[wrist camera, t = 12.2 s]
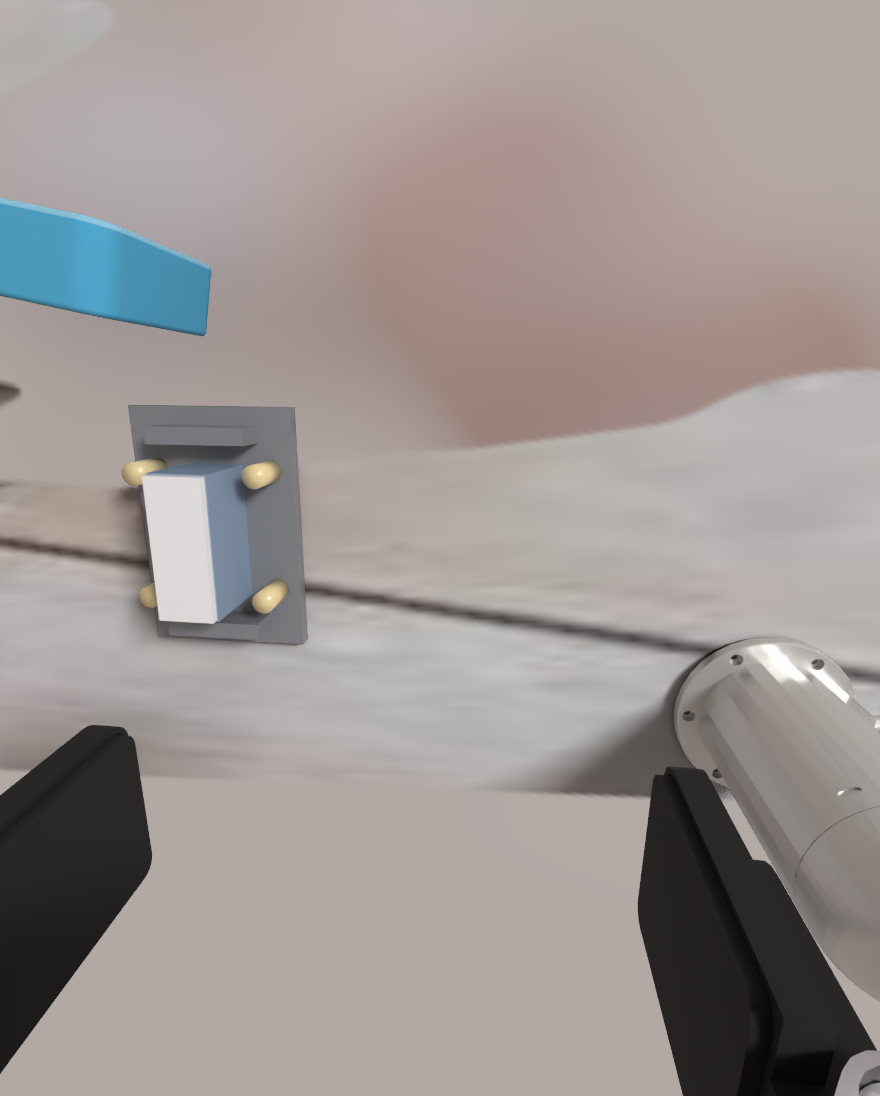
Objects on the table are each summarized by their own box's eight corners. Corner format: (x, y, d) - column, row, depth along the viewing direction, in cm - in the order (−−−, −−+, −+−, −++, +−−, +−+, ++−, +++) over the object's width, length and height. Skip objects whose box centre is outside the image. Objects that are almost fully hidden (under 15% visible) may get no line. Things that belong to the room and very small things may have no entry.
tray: (294, 407, 41) (272, 408, 37) (307, 638, 45) (289, 661, 42) (136, 405, 42) (99, 406, 38) (165, 631, 47) (135, 652, 43)
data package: (54, 303, 41) (-124, 268, 29) (55, 234, 39) (-131, 169, 28) (214, 338, 40) (98, 316, 28) (220, 269, 39) (101, 217, 27)
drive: (242, 464, 41) (200, 476, 35) (252, 594, 44) (214, 625, 38) (190, 462, 41) (140, 474, 36) (202, 591, 44) (158, 621, 38)
